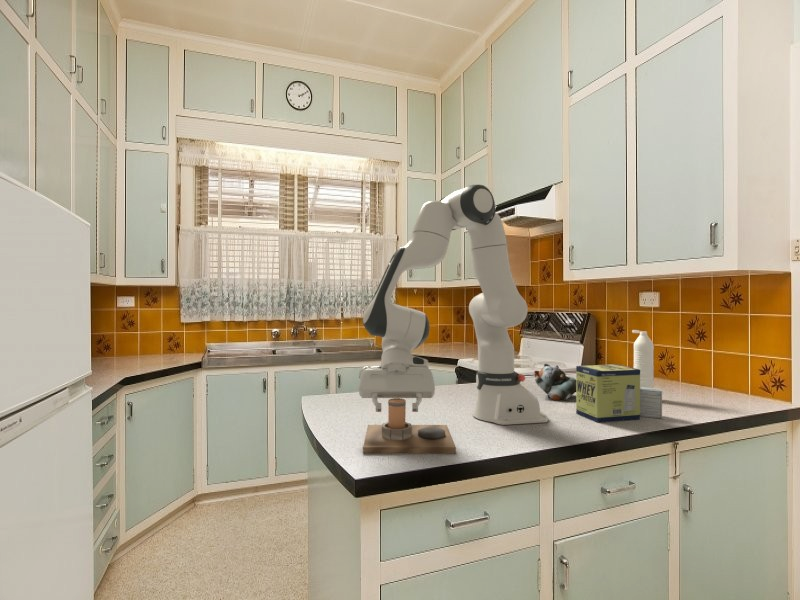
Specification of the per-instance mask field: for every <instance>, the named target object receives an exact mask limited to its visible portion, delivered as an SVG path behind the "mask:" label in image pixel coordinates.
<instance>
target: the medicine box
mask: <svg viewBox="0 0 800 600" xmlns="http://www.w3.org/2000/svg"><path fill="white" fill-rule="evenodd" d="M640 417H644V418H655V419H663V391H662V390H661V388H659V387H653V388H649V387H640Z"/></svg>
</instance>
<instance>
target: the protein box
mask: <svg viewBox="0 0 800 600" xmlns="http://www.w3.org/2000/svg"><path fill="white" fill-rule="evenodd" d="M575 367H576V368H575V373H576V375H575V376H576V377H575V379H576V392H575V393H576V394H575V395H576V396H575V399H576V401H575V402H576V403H575V405H576V406H575V407H576V408H575V414H577V415H579V416H581V417H583V418H586V419H589V420H591V421H593V422H594V423H596V424H597V423H609V422H611V423H612V422H613V423H614V422H624V421H626V422H628V421H637V420H638V421H639V420H641V416H640V370H639V369H635V368H633V367H631V366H626V365H621V364H615V363H614V364H597V365H596V364H595V365H576V366H575Z"/></svg>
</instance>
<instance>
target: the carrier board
mask: <svg viewBox="0 0 800 600" xmlns="http://www.w3.org/2000/svg"><path fill="white" fill-rule="evenodd" d="M456 449H457V447H456V444H455V442H454V439H453V436H452V435H451V431H450V429H449V427H448V425H447V424H411V423H410V422H406V421H405V428H403V429H390V428H388V421H387V422H384V423H382V424H368V425H367V428H366V433H365V437H364V442H363V445H362V454H363V453H409V455H410V453H414V454H418V453H419V454H420V453H430V454H457V453H456V452H457V451H456ZM419 454H418V455H419Z"/></svg>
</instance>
